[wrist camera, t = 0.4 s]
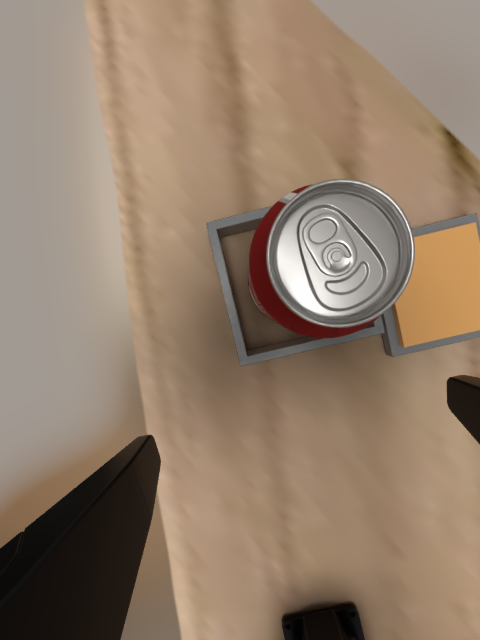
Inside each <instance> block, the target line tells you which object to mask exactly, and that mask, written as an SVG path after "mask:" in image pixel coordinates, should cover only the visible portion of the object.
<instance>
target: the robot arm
mask: <svg viewBox="0 0 480 640" xmlns="http://www.w3.org/2000/svg"><path fill="white" fill-rule="evenodd" d="M447 404H448V407H449V409H450V410H451V412H452V413H453V414H454V415H455V416H456V417H457V419H458V420H459V421H460V422H461V423H462V424H463V426H464V427H465V428H466V429H467V430H468V431H469V433H470V434H471V435H472V436H473V437H474V438H475V439H476V441H477V442H478V443H479V444H480V378H477V377H472V376H467V375H459V376H454V377H450V378H449V379H448V380H447ZM160 465H161V459H160V455H159V452H158V449H157V446H156V442H155V439H154V437H153V436H152V435H145V436H140V437H137V438H136V439H135V440H134V441H132V442H131V443H130V444H129V445H128V446H126V447H125V448H124V449H123V450H121V451H120V452H119V453H118V454H116V455H115V456H114V457H113V458H111V459H110V460H109V461H108V462H107V463H105V464H104V465H103V466H102V467H100V468H99V469H98V470H97V471H96V472H94V473H93V474H92V475H91V476H90V477H88V478H87V479H86V480H84V481H83V482H82V483H81V484H79V485H78V486H77V487H76V488H74V489H73V490H72V491H71V492H70V493H68V494H67V495H66V496H65V497H63V498H62V499H61V500H60V501H58V502H57V503H56V504H55V505H54V506H52V507H51V508H50V509H49V510H47V511H46V512H45V513H44V514H42V515H41V516H40V517H39V518H37V519H36V520H35V521H34V522H33V523H31V524H30V525H29V526H28V527H26V528H25V530H24V532H23V531H22V532H20V533H19V534H18V535H16V536H15V537H14V538H13V539H11V541H9V542H8V543H7V544H5V545H4V546H3V547H2V548H0V640H120V639H121V635H122V631H123V628H124V624H125V620H126V616H127V612H128V608H129V605H130V601H131V597H132V593H133V589H134V585H135V582H136V578H137V574H138V570H139V566H140V562H141V559H142V555H143V551H144V547H145V543H146V539H147V535H148V532H149V528H150V524H151V520H152V515H153V509H154V504H155V497H156V491H157V484H158V478H159V472H160ZM282 628H283V632H284V636H285V640H365V639H364V635H363V631H362V626H361V622H360V618H359V613H358V610H357V608H356V606H355V605H354V604H346V605H341V606H335V607H330V608H325V609H320V610H315V611H310V612H305V613H299V614H294V615H289V616H285V617H284V618H283V619H282Z"/></svg>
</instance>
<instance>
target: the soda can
mask: <svg viewBox="0 0 480 640" xmlns="http://www.w3.org/2000/svg"><path fill="white" fill-rule="evenodd" d="M414 260H415V243H414V237H413V232H412V229H411V226H410V223H409V221H408V219H407V217H406V215H405V214H404V212H403V210H402V209H401V208H400V206H399V205H398V204H397V203H396V202H395V201H394V199H392V198H391V197H390V196H389V195H388V194H386V193H385V192H384V191H382V190H381V189H379V188H377V187H375V186H373V185H371V184H368V183H365V182H362V181H358V180H352V179H333V180H327V181H323V182H320V183H317V184H311V185H308V186H304V187H302V188H299V189H297V190H295V191H293V192H291V193H289V194H287V195H286V196H284V197H283V198H282V199H280V200H279V201H278V202H277V203H275V204H274V205H273V206H272V207H271V208H270V210H269V211H268V212H267V213H266V214H265V216H264V217H263V219H262V220H261V222H260V224H259V225H258V227H257V230H256V232H255V234H254V237H253V240H252V244H251V248H250V256H249V275H248V285H249V291H250V294H251V297H252V299H253V301H254V303H255V304H256V306H257V307H258V308H259V309H260V310H261V312H263V313H264V314H265V315H266V316H268V317H269V318H271V319H273V320H274V321H276V322H277V323H279V324H281V325H282V326H284V327H286V328H287V329H289V330H291V331H293V332H296V333H298V334H301V335H304V336H309V337H314V338H336V337H342V336H346V335H349V334H352V333H355V332H357V331H359V330H361V329H363V328H365V327H367V326H368V325H370V324H371V323H373V322H374V321H375V320H376V319H378V318H379V317H380V316H381V315H382V314H383V313H384V312H385V311H387V310H388V309H389V308H390V307H391V306H392V305H393V304H394V303H395V302H396V301H397V300H398V299H399V297H400V296H401V295H402V293H403V291H404V290H405V288H406V286H407V284H408V282H409V280H410V277H411V274H412V270H413V266H414Z"/></svg>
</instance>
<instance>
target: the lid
mask: <svg viewBox="0 0 480 640" xmlns="http://www.w3.org/2000/svg"><path fill="white" fill-rule="evenodd" d="M412 232H413V237H414V243H415V260H414V266H413V270H412V274H411V277H410V280H409V282H408V284H407V286H406V288H405V290H404V291H403V293H402V295H401V296H400V297H399V299H398V300H397V301H396V302H395V303H394V304H393V305H392V306H391V307H390V308H389V309H388V310H387V311H385V312H384V313H383V314H382V315H381V318H382V322H383V327H384V332H385V333H382V337H383V341H384V346H385V351H386V355H389V356H391V357H395V356H399V355H404V354H408V353H413V352H417V351H421V350H426V349H430V348H434V347H439V346H443V345H448V344H452V343H456V342H461V341H465V340H469V339H474V338H478V337H480V227H479V222H478V217H477V213H474V214H470V215H466V216H462V217H458V218H454V219H450V220H446V221H442V222H438V223H434V224H430V225H426V226H422V227H418V228H413V229H412Z"/></svg>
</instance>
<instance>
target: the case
mask: <svg viewBox="0 0 480 640" xmlns="http://www.w3.org/2000/svg"><path fill="white" fill-rule="evenodd" d="M271 207H272V206H271ZM271 207H267V208H263V209H259V210H255V211H251V212H247V213H243V214H239V215H235V216H231V217H227V218H223V219H219V220H215V221H212V222H208V223H206V225H207V229H208V233H209V237H210V241H211V245H212V249H213V254H214V258H215V262H216V266H217V270H218V274H219V278H220V282H221V286H222V291H223V295H224V299H225V303H226V307H227V311H228V315H229V319H230V324H231V328H232V332H233V336H234V340H235V344H236V348H237V352H238V357H239V361H240V365H241V366H244V365H249V364H253V363H257V362H261V361H266V360H270V359H274V358H279V357H283V356H287V355H292V354H296V353H300V352H305V351H309V350H313V349H318V348H322V347H326V346H330V345H335V344H339V343H343V342H348V341H352V340H356V339H361V338H365V337H369V336H374V335H378V334H382V333H385V332H384V327H383V322H382V318H381V316H380V317H379V318H378V319H376V320H375V321H374V322H373V323H371V324H370V325H368V326H367V327H365V328H363V329H361V330H359V331H357V332H355V333H352V334H349V335H346V336H342V337H336V338H314V337H309V336H308V337H303V338H299V339H295V340H291V341H286V342H282V343H278V344H273V345H269V346H265V347H261V348H256V349H252V350H248V351H247V349H246V345H245V340H244V336H243V332H242V328H241V324H240V320H239V316H238V311H237V307H236V303H235V299H234V295H233V291H232V286H231V282H230V278H229V274H228V270H227V266H226V262H225V257H224V253H223V249H222V245H221V241H220V237H224V236H228V235H232V234H236V233H240V232H244V231H248V230H252V229H256V228H257V227H258V225H259V224H260V222H261V220H262V219H263V217H264V216H265V214H266V213H267V212H268V211H269V210H270V208H271Z"/></svg>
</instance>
